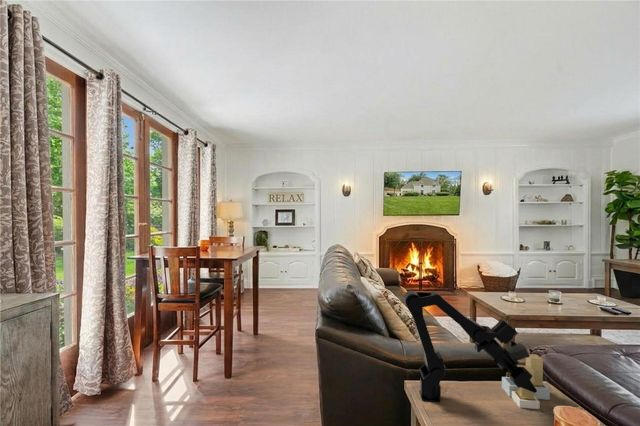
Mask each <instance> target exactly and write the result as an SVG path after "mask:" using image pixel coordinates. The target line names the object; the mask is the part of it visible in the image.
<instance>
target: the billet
mask: <svg viewBox="0 0 640 426" xmlns="http://www.w3.org/2000/svg"><path fill="white" fill-rule="evenodd" d="M517 366H518V367H519V366H520V367H524V368H525V369H526V370H527V371H528V372H529V373H530V374H531V375H532V378H531V379H530V380H531V382H532V384H533V385H534V371H533V370H532V369H531V368H530V367H529V366H526V365H520V364H517ZM517 396H518V397H519V398H520V399H521V400H534V392H531V391H529V390H526V389H524V388H521V387H520V388H518V387H517Z"/></svg>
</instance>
